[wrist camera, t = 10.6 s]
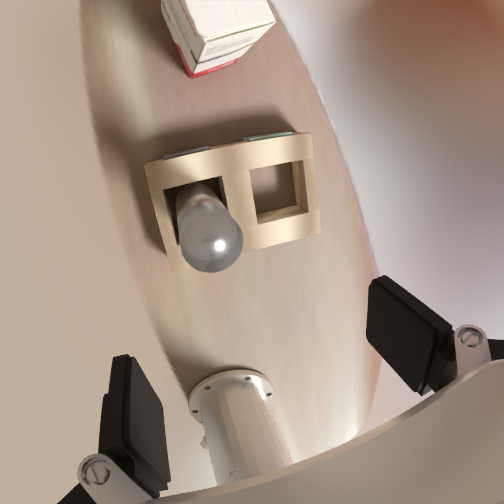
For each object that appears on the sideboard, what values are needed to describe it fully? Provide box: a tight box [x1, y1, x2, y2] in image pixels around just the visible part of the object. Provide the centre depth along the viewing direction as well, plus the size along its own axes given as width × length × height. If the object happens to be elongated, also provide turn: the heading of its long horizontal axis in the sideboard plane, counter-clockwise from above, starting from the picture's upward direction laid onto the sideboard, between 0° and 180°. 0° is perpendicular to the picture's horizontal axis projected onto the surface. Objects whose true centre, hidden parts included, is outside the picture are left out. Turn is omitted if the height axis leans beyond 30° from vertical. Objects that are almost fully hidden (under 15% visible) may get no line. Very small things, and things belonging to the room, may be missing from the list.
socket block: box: [144, 132, 321, 272], centre depth 28 cm, size 15×10×3 cm
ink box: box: [161, 0, 276, 79], centre depth 17 cm, size 9×5×12 cm, turn 21°
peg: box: [176, 183, 243, 272], centre depth 24 cm, size 4×4×11 cm
